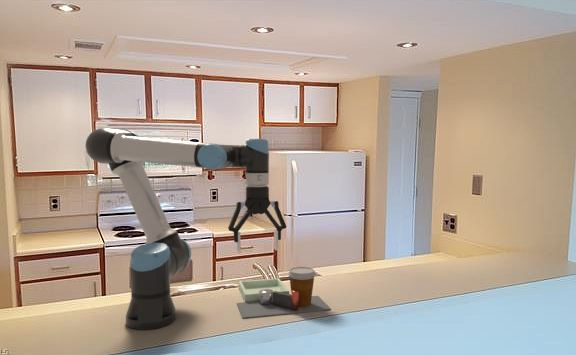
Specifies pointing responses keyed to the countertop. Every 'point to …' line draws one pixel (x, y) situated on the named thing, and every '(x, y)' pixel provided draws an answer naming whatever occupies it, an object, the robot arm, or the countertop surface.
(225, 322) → the countertop surface
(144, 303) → the robot arm
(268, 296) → the hub
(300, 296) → the disposable coffee cup
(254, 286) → the tray
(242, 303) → the mat
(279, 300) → the crank
